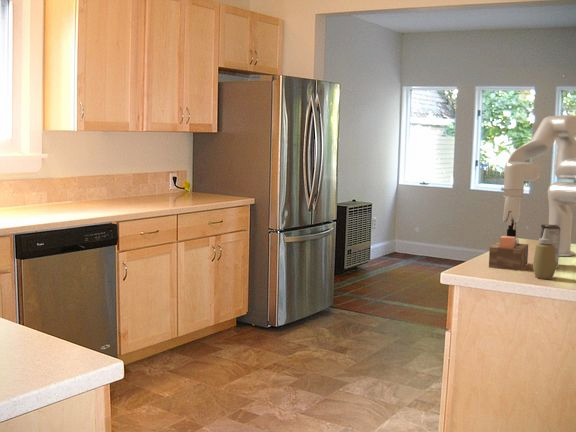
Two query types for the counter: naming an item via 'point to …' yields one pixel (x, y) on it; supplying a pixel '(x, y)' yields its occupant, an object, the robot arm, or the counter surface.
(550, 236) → the coffee box
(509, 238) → the terracotta plug
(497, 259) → the plug console
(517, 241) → the steel plug
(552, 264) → the squeeze bottle
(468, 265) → the counter surface
